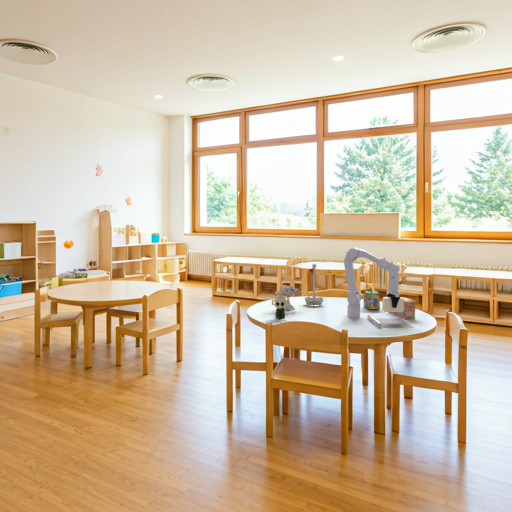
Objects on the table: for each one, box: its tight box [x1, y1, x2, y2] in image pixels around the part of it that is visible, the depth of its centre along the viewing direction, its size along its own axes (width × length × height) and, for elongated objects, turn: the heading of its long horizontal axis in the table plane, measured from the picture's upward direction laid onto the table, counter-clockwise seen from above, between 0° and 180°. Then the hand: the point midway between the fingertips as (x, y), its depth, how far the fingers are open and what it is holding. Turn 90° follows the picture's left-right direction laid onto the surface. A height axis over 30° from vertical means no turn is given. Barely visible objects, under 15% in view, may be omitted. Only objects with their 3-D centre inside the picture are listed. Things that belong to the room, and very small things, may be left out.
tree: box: [274, 284, 302, 311], centre depth 281 cm, size 18×16×17 cm
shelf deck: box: [373, 317, 414, 329], centre depth 239 cm, size 22×20×1 cm
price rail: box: [366, 313, 382, 329], centre depth 239 cm, size 22×2×2 cm, turn 0°
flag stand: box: [304, 263, 324, 307], centre depth 295 cm, size 13×13×30 cm
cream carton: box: [382, 296, 404, 313], centre depth 242 cm, size 5×11×8 cm, turn 90°
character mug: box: [271, 295, 290, 319], centre depth 256 cm, size 11×7×13 cm, turn 83°
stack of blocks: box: [387, 297, 416, 320], centre depth 258 cm, size 21×6×12 cm, turn 11°
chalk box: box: [363, 286, 381, 310], centre depth 283 cm, size 9×9×15 cm
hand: (392, 306), depth 243 cm, fingers closed on cream carton, 5 cm apart
